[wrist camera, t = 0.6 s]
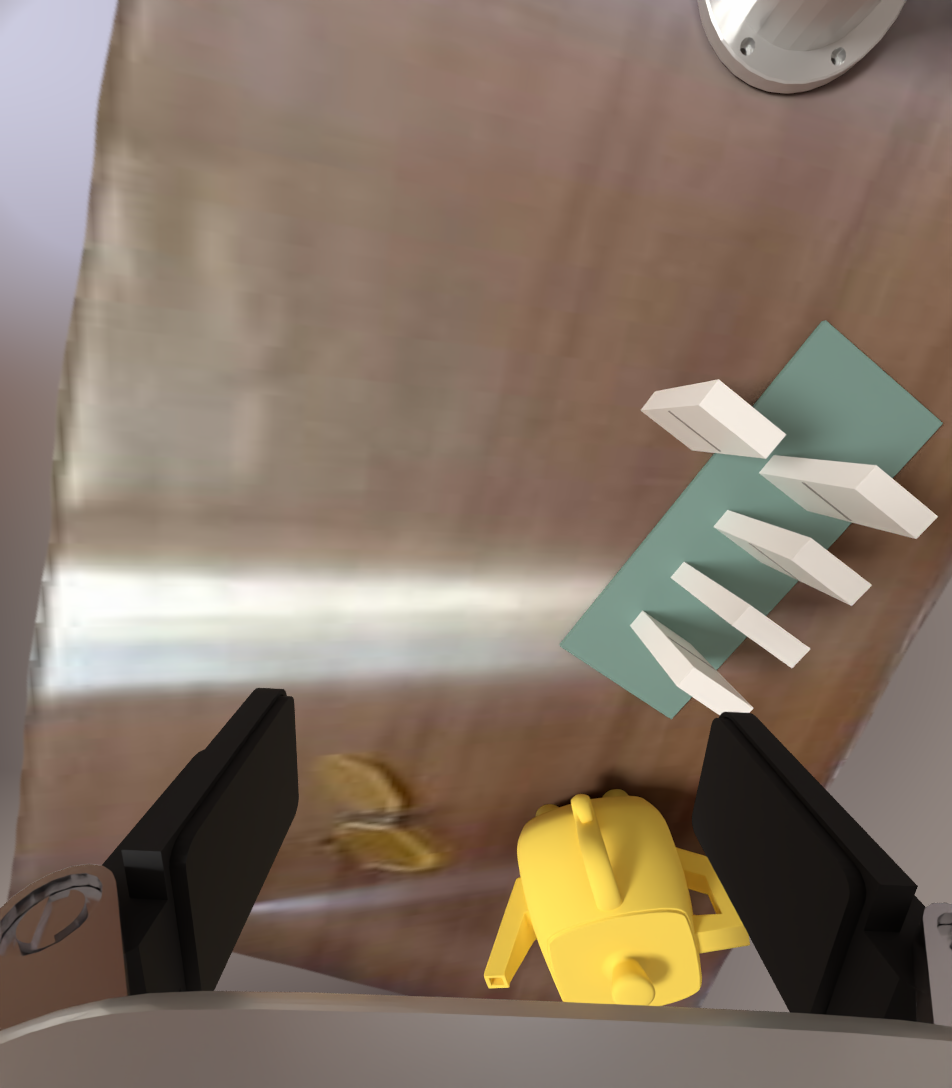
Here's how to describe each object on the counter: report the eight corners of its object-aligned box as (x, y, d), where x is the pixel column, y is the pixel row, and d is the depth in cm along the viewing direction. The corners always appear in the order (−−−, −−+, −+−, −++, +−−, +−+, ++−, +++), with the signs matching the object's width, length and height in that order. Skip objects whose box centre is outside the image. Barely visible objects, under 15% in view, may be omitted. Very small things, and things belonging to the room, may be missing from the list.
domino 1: (655, 391, 33) (719, 379, 25) (706, 431, 34) (786, 434, 25) (640, 410, 34) (698, 405, 25) (691, 450, 34) (765, 459, 26)
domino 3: (727, 509, 35) (811, 537, 26) (775, 545, 36) (872, 584, 27) (713, 527, 35) (790, 560, 27) (760, 562, 36) (851, 606, 27)
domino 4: (684, 561, 36) (750, 604, 27) (731, 595, 37) (810, 648, 28) (670, 577, 36) (731, 625, 28) (717, 611, 37) (791, 668, 28)
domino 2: (774, 454, 34) (876, 464, 25) (822, 493, 35) (938, 516, 26) (758, 473, 34) (854, 489, 26) (806, 511, 35) (915, 539, 26)
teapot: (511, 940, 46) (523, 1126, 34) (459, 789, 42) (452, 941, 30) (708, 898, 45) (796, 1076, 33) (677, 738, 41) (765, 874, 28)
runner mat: (821, 321, 32) (825, 320, 32) (937, 423, 34) (943, 423, 34) (559, 644, 38) (560, 646, 38) (669, 716, 40) (671, 719, 40)
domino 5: (642, 610, 37) (694, 666, 28) (689, 642, 38) (754, 707, 29) (629, 625, 37) (676, 686, 29) (676, 657, 38) (736, 726, 29)
